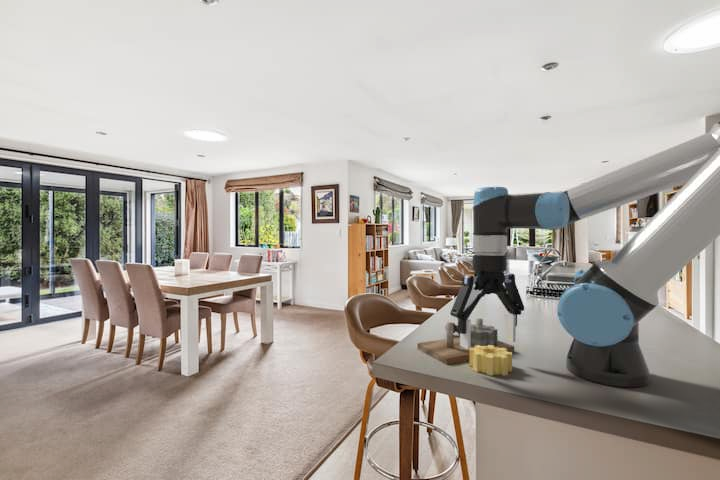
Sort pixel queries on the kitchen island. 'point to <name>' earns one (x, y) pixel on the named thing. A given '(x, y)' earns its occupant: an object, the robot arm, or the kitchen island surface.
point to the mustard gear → (490, 360)
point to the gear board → (455, 353)
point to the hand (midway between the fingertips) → (488, 343)
